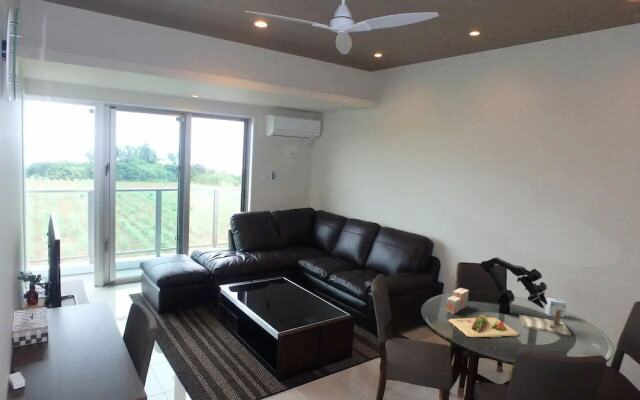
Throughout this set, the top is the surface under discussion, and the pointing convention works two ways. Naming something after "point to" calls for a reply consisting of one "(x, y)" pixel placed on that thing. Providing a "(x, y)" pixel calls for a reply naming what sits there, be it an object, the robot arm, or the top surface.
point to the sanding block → (556, 322)
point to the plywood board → (541, 324)
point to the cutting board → (483, 327)
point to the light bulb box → (555, 307)
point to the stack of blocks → (457, 300)
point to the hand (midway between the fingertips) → (545, 306)
